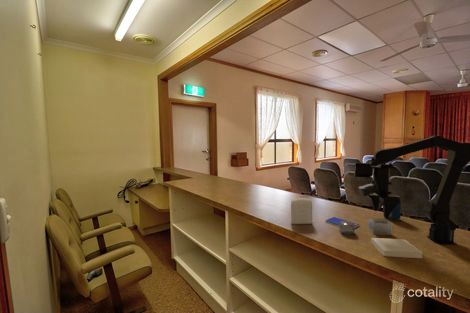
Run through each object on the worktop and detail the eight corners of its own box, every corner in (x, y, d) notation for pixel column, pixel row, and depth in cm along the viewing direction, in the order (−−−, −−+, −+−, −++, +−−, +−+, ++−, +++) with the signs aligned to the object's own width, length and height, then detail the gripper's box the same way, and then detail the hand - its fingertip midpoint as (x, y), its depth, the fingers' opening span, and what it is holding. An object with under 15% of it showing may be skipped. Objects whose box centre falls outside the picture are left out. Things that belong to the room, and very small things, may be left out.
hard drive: (359, 223, 104) (334, 216, 114) (350, 228, 99) (325, 220, 109) (359, 227, 104) (334, 219, 114) (350, 231, 99) (325, 223, 109)
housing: (385, 230, 98) (385, 218, 98) (391, 235, 94) (391, 222, 93) (368, 229, 100) (368, 217, 99) (373, 234, 95) (373, 221, 94)
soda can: (399, 217, 113) (400, 194, 112) (401, 222, 107) (402, 197, 106) (383, 215, 117) (384, 193, 116) (384, 219, 111) (385, 196, 110)
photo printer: (292, 224, 106) (292, 199, 105) (290, 221, 111) (290, 197, 110) (313, 224, 106) (313, 199, 105) (310, 221, 111) (310, 197, 110)
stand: (404, 244, 85) (404, 239, 85) (422, 258, 75) (422, 252, 75) (370, 242, 87) (371, 237, 87) (383, 256, 77) (384, 250, 77)
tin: (351, 229, 99) (351, 221, 99) (356, 235, 93) (357, 226, 93) (337, 229, 100) (337, 220, 100) (341, 235, 94) (342, 226, 94)
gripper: (353, 175, 105) (352, 207, 106) (370, 182, 87) (369, 221, 88) (378, 175, 103) (377, 207, 105) (402, 183, 85) (400, 222, 86)
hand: (380, 214), depth 96 cm, fingers open, 9 cm apart
